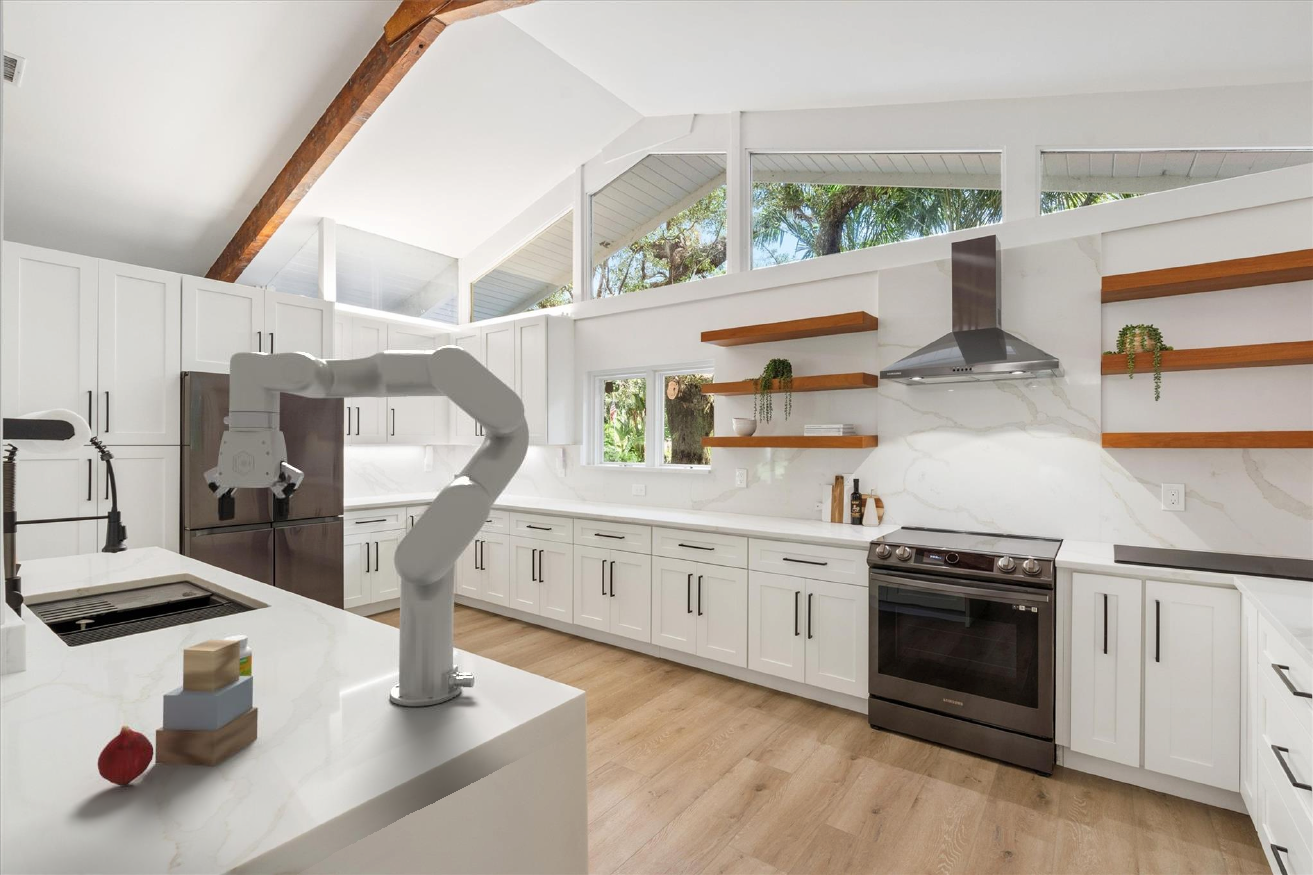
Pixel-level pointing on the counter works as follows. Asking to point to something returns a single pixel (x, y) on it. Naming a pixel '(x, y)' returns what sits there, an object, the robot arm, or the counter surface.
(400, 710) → the counter surface
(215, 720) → the grey square block
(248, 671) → the supplement bottle
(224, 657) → the oak block
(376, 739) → the counter surface
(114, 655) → the counter surface
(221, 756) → the tower base
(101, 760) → the onion
